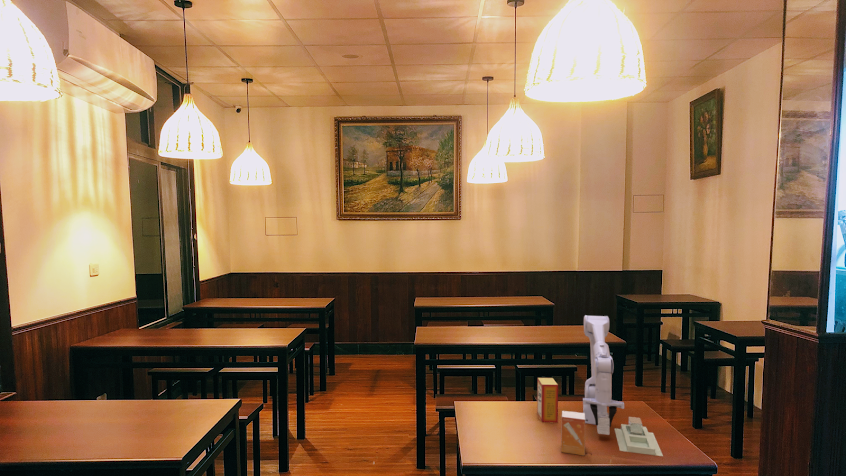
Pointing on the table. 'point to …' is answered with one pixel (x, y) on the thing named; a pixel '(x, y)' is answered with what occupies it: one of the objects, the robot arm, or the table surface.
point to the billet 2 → (635, 426)
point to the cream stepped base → (637, 441)
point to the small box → (573, 433)
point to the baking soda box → (547, 400)
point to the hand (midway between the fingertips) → (603, 424)
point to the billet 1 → (603, 423)
